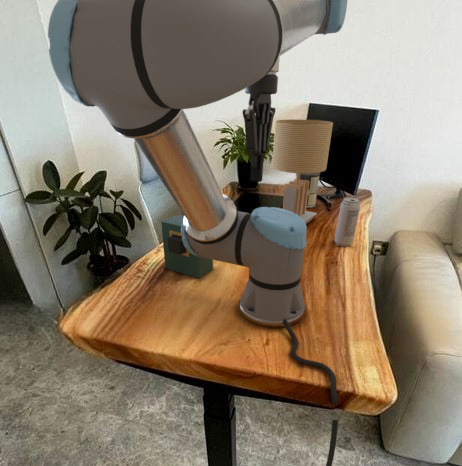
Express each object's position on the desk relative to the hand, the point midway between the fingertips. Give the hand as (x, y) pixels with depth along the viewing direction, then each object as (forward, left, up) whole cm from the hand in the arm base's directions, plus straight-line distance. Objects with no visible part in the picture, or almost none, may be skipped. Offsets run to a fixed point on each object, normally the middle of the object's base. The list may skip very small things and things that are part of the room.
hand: (256, 180), depth 92 cm
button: (-8, +19, -17) cm, 27 cm away
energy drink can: (+21, -30, -25) cm, 44 cm away
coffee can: (+66, -20, -25) cm, 73 cm away
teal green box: (-5, +18, -24) cm, 31 cm away
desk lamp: (+42, -14, -25) cm, 51 cm away
